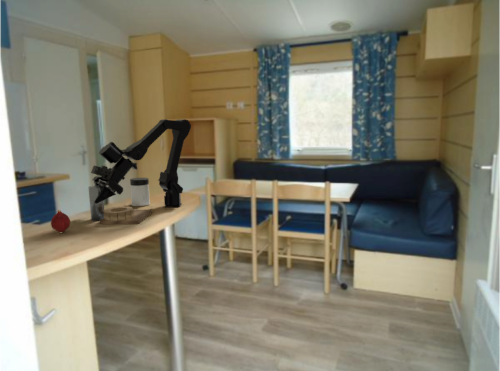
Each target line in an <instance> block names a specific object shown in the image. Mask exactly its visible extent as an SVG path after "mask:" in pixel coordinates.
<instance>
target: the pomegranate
mask: <svg viewBox="0 0 500 371" xmlns="http://www.w3.org/2000/svg"><path fill="white" fill-rule="evenodd" d="M50 225H51V226H50V227H51V228H52V229H53V230H54V231H56V232H58V233H59V232H63V233H64V232H65V231H66V230H68V229H69V228H70V225H71V219H70V217H69V215H67V214H66V213H64V212H63V211H61V210H60V209H57V213H56V214H54V215H53V216H52V218H51V220H50Z"/></svg>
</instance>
